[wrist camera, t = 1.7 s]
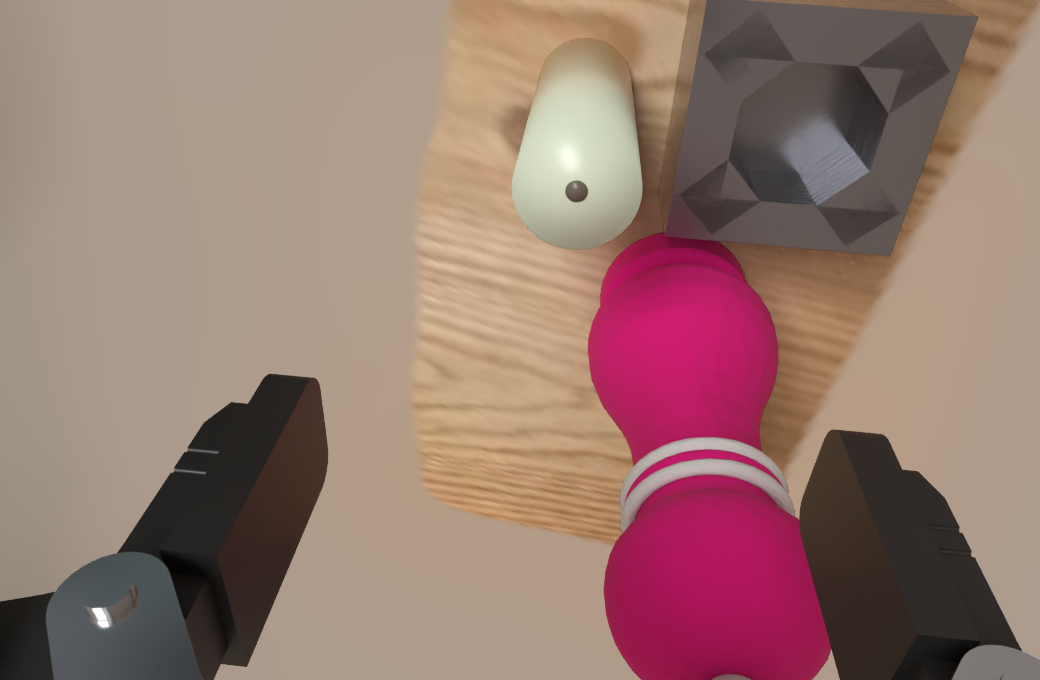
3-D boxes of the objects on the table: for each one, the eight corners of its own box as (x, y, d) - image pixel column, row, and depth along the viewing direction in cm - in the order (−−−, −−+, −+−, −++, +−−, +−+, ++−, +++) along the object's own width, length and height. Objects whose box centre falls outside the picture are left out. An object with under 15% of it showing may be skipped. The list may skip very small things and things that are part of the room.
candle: (520, 71, 28) (486, 170, 20) (602, 18, 27) (600, 101, 19) (568, 148, 30) (555, 270, 22) (648, 102, 29) (665, 212, 20)
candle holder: (694, -25, 26) (707, -3, 23) (930, -8, 26) (978, 16, 23) (658, 192, 31) (665, 236, 27) (858, 209, 30) (890, 256, 27)
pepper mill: (791, 262, 32) (994, 728, 15) (699, 383, 36) (782, 858, 19) (640, 190, 31) (684, 612, 14) (562, 323, 35) (525, 775, 18)
